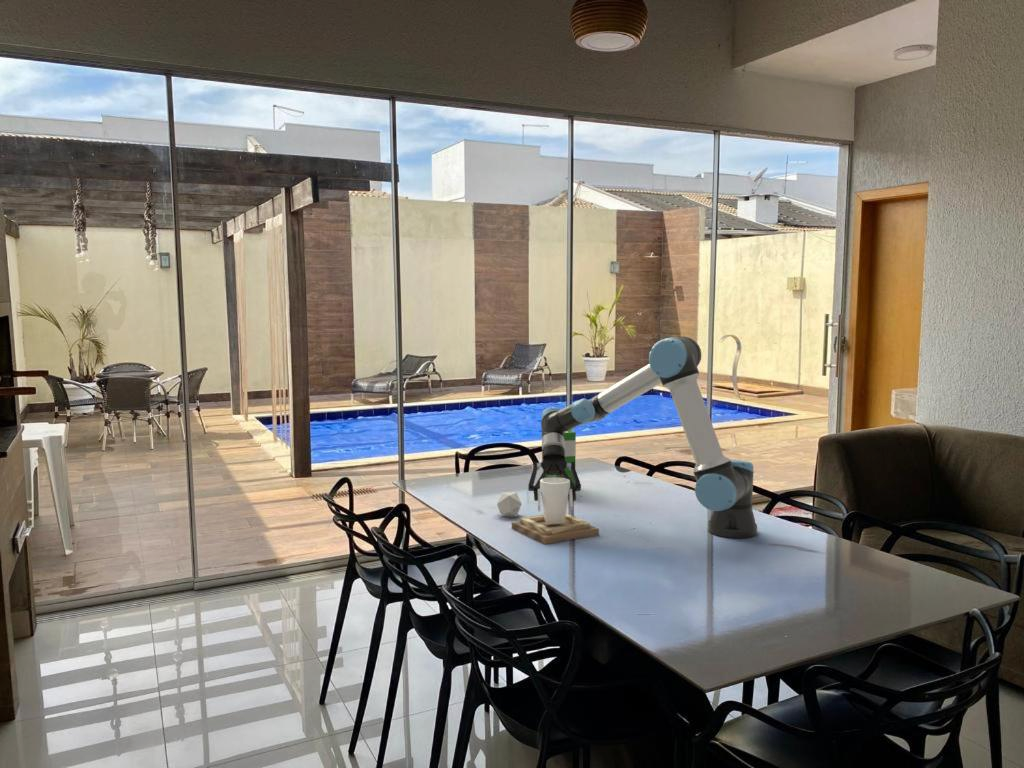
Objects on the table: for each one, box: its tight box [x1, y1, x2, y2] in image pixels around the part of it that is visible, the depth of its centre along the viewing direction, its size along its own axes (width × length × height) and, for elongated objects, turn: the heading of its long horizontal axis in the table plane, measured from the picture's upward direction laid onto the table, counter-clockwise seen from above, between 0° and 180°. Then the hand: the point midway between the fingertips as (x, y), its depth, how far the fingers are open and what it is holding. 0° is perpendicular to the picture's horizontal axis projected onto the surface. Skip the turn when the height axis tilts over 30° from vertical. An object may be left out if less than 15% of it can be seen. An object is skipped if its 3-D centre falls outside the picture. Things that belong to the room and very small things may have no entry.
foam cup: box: [540, 477, 570, 523], centre depth 254 cm, size 10×9×13 cm
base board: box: [511, 513, 600, 545], centre depth 254 cm, size 20×20×4 cm
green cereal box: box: [542, 429, 577, 491], centre depth 310 cm, size 18×7×24 cm, turn 14°
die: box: [496, 492, 522, 518], centre depth 274 cm, size 8×9×10 cm
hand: (555, 508), depth 251 cm, fingers closed on foam cup, 9 cm apart
